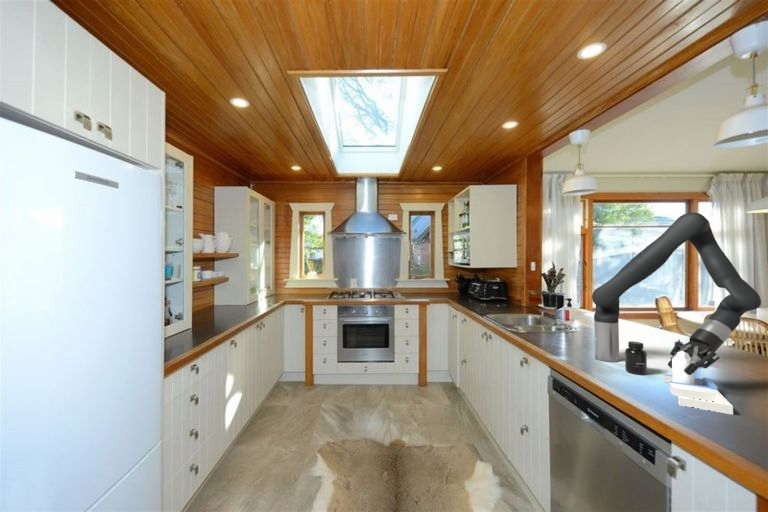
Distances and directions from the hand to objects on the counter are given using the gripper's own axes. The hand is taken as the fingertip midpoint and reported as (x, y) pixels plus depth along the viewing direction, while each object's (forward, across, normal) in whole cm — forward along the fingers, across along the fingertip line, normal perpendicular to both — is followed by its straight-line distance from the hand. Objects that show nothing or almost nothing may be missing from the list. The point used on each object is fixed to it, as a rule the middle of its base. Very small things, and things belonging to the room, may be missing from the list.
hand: (678, 369), depth 114 cm
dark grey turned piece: (-9, -20, +19) cm, 29 cm away
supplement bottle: (+6, -17, +3) cm, 18 cm away
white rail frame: (+5, +6, +4) cm, 9 cm away
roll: (+3, 0, +5) cm, 6 cm away
